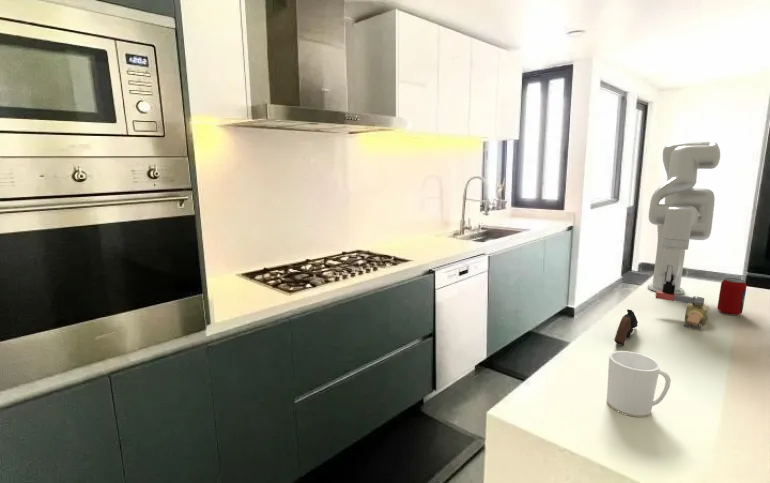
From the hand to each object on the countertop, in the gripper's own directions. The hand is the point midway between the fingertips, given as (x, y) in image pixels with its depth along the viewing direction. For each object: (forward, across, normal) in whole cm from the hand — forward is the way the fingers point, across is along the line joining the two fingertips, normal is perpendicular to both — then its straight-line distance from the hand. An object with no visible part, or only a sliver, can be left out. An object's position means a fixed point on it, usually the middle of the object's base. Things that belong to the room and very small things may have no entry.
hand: (667, 295), depth 141 cm
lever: (+1, +2, +3) cm, 4 cm away
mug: (+6, +74, +4) cm, 74 cm away
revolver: (+7, +34, -6) cm, 35 cm away
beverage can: (+7, -16, +17) cm, 24 cm away
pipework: (+6, +2, +8) cm, 11 cm away
